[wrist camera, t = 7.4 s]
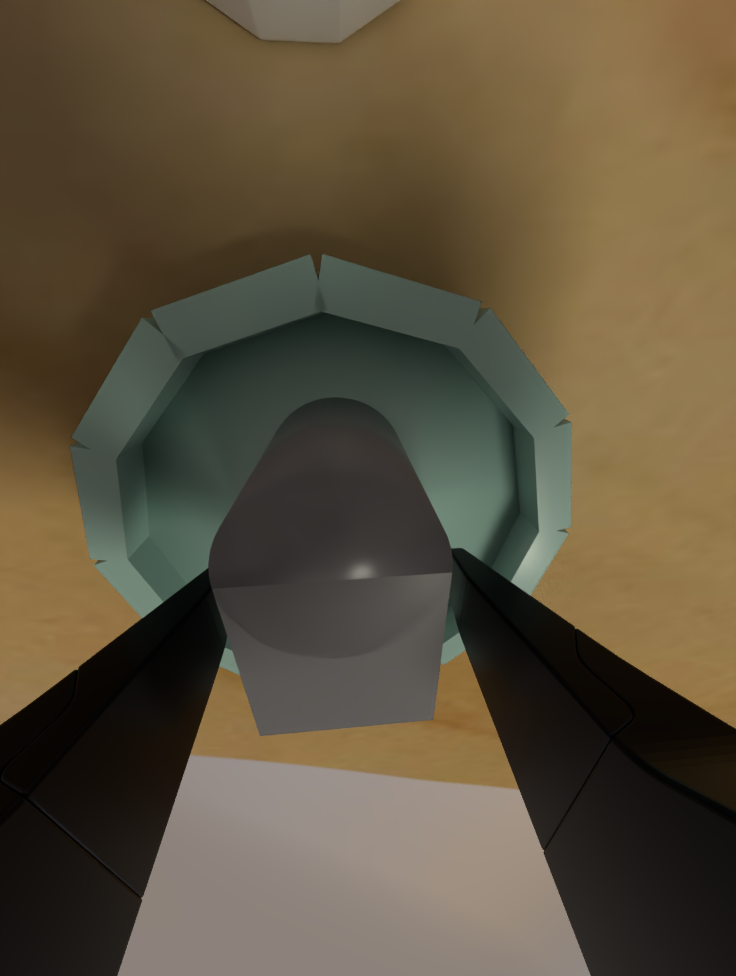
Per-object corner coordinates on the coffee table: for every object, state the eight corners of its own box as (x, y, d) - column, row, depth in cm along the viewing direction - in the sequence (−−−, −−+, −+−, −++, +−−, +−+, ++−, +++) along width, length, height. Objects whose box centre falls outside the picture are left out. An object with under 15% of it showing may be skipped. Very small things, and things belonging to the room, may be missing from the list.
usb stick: (259, 399, 9) (175, 478, 4) (404, 394, 9) (466, 464, 5) (297, 618, 13) (273, 777, 8) (397, 611, 13) (427, 762, 8)
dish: (309, 114, 7) (299, 50, 5) (609, 497, 12) (651, 524, 10) (45, 532, 11) (-6, 568, 9) (353, 684, 16) (355, 725, 14)
